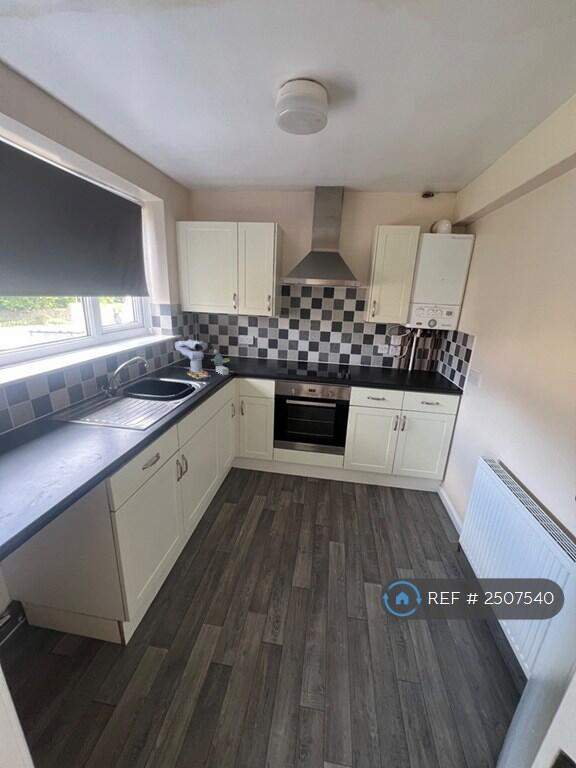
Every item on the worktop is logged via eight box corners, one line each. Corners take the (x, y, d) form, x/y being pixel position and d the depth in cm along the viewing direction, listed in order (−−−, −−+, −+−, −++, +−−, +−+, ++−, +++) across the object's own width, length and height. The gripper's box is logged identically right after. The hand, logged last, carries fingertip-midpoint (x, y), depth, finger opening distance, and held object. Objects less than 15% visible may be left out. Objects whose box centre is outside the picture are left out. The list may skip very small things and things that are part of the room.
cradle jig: (187, 374, 228) (186, 370, 228) (200, 372, 235) (200, 368, 234) (197, 379, 215) (196, 375, 214) (211, 377, 222) (211, 373, 221)
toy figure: (207, 366, 257) (206, 348, 253) (215, 364, 266) (214, 347, 262) (222, 368, 249) (221, 351, 245) (230, 366, 258) (230, 349, 254)
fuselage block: (215, 372, 238) (215, 366, 236) (221, 371, 241) (221, 365, 239) (222, 375, 229) (222, 369, 228) (228, 374, 233) (228, 368, 231)
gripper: (189, 341, 224) (197, 343, 214) (207, 339, 233) (216, 341, 223) (190, 350, 226) (198, 352, 216) (208, 348, 235) (216, 350, 225)
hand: (207, 347), depth 220 cm, fingers open, 7 cm apart
